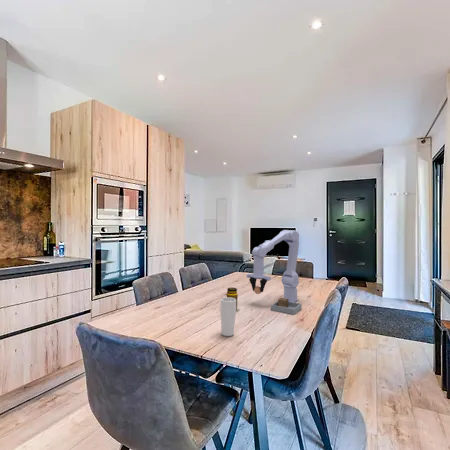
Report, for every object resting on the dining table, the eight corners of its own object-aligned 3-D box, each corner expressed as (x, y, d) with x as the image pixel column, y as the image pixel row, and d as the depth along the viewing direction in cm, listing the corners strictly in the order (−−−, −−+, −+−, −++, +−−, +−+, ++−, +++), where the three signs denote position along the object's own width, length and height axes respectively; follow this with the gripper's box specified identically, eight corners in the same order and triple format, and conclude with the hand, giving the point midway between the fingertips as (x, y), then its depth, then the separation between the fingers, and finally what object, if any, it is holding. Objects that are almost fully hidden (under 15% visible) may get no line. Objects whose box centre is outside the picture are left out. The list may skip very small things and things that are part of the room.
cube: (280, 305, 165) (281, 297, 165) (288, 306, 162) (288, 298, 162) (277, 307, 161) (278, 299, 161) (285, 308, 158) (285, 300, 158)
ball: (256, 292, 167) (256, 285, 167) (262, 293, 165) (263, 286, 165) (252, 293, 164) (252, 286, 164) (259, 295, 161) (259, 287, 161)
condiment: (234, 313, 150) (234, 290, 150) (220, 310, 154) (220, 288, 154) (240, 309, 157) (240, 287, 156) (226, 306, 161) (227, 285, 161)
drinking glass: (235, 331, 125) (235, 297, 124) (236, 337, 118) (237, 301, 118) (219, 331, 124) (220, 297, 124) (219, 337, 118) (220, 301, 117)
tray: (279, 305, 167) (279, 299, 167) (301, 309, 160) (301, 303, 160) (270, 310, 156) (271, 305, 156) (293, 315, 149) (293, 309, 149)
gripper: (244, 267, 165) (243, 290, 165) (267, 270, 157) (266, 294, 157) (249, 266, 171) (249, 288, 171) (272, 268, 163) (271, 292, 163)
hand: (257, 291), depth 164 cm, fingers closed on ball, 4 cm apart
